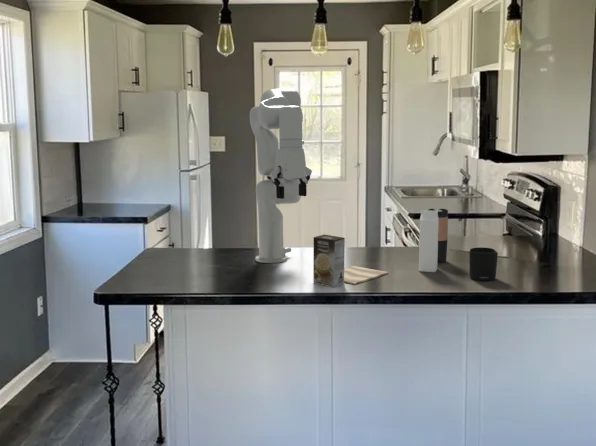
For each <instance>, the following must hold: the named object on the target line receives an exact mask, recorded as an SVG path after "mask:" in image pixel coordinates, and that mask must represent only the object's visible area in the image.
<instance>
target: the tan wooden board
mask: <svg viewBox="0 0 596 446" xmlns="http://www.w3.org/2000/svg"><path fill="white" fill-rule="evenodd" d="M388 274H389V271H385V270H378V269H372V268H367V267H360V266H356V265H350V266H346V267H344V284H349V285H354V286H355V285H356V286H357V285H359V284H362V283H364V282H368V281H371V280H373V279H376V278H380V277H383V276H386V275H388Z"/></svg>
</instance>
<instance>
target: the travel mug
mask: <svg viewBox="0 0 596 446" xmlns="http://www.w3.org/2000/svg"><path fill="white" fill-rule="evenodd" d="M428 210H431V211H438V257H437V264H443V263H446V262H447V256H448V231H449V228H448V227H449V225H448V224H449V220H448V218H449V210H448V209H447V208H439V209H435V208H429V209H428Z"/></svg>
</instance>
